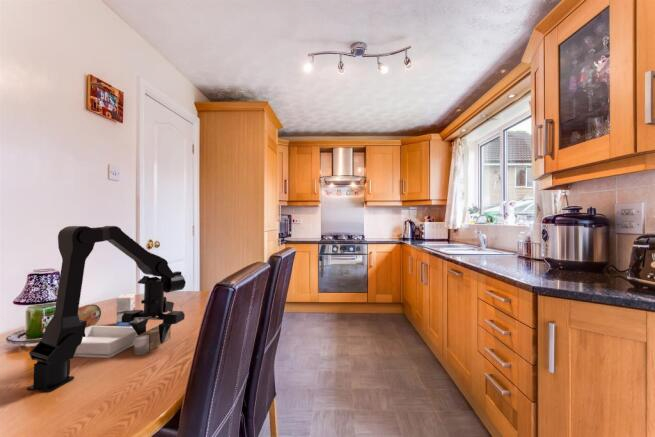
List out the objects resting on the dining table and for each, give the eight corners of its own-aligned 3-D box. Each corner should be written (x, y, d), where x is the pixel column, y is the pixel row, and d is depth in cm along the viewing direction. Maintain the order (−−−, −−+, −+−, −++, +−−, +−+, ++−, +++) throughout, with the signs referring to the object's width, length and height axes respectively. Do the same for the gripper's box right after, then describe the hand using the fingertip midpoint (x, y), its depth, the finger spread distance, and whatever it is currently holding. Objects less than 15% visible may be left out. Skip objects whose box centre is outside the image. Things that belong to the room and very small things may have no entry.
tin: (63, 335, 111) (63, 312, 111) (56, 334, 111) (56, 311, 112) (101, 323, 125) (102, 302, 126) (95, 322, 126) (95, 301, 126)
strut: (143, 355, 94) (143, 339, 94) (131, 354, 94) (131, 338, 94) (170, 338, 108) (171, 324, 108) (160, 338, 109) (160, 324, 109)
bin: (109, 357, 92) (109, 344, 92) (47, 355, 93) (48, 342, 94) (144, 338, 108) (145, 327, 108) (91, 336, 109) (92, 325, 110)
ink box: (130, 327, 120) (131, 297, 121) (115, 328, 118) (116, 298, 119) (135, 321, 128) (135, 292, 129) (121, 322, 126) (122, 293, 127)
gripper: (193, 291, 109) (192, 335, 109) (143, 290, 111) (142, 333, 110) (175, 298, 98) (174, 347, 98) (120, 296, 100) (119, 345, 99)
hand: (152, 342), depth 101 cm, fingers open, 6 cm apart
